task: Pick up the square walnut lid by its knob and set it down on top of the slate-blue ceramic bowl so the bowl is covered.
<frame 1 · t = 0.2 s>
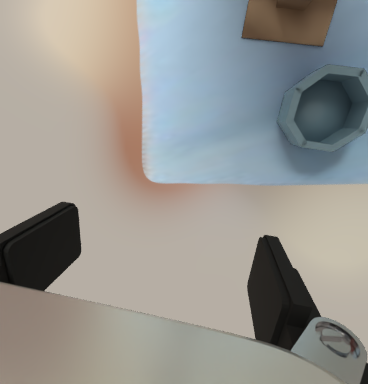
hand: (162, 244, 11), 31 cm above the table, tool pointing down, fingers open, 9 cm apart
bowl: (315, 111, 34), on the table
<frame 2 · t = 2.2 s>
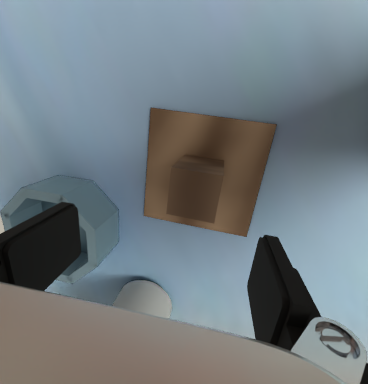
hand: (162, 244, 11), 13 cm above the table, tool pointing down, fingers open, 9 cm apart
lid: (202, 174, 23), on the table
bowl: (78, 218, 27), on the table
can: (148, 296, 30), on the table
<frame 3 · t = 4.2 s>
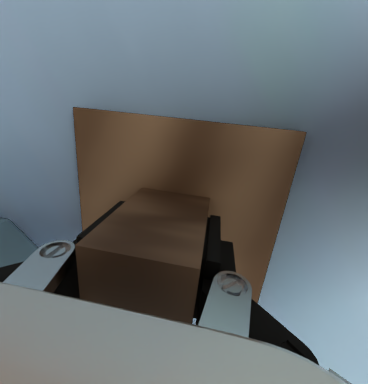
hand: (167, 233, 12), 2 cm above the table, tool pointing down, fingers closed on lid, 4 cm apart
lid: (175, 217, 13), on the table, touching gripper
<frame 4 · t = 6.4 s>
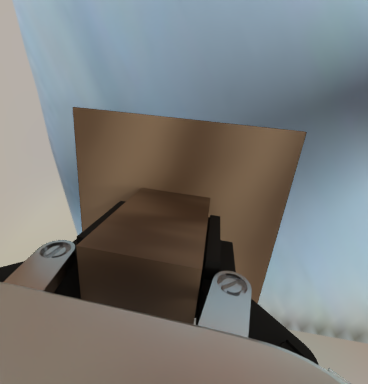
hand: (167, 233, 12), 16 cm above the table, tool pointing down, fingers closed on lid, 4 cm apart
lid: (175, 217, 13), point 14 cm above the table, touching gripper
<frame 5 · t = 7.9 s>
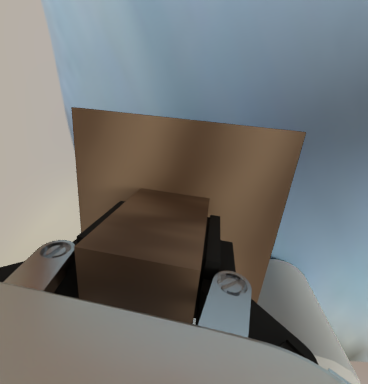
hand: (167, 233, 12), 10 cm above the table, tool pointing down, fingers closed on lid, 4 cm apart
lid: (174, 218, 13), point 9 cm above the table, touching gripper
can: (267, 280, 24), on the table
when the fingers open (9 cm above the table, at t = 8.9 s): lid drops 2 cm, resting on bowl.
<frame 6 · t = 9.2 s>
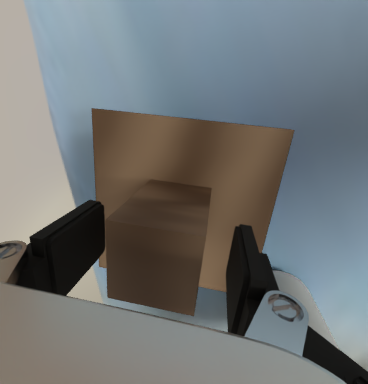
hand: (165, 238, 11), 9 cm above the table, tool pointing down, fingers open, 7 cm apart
lid: (180, 206, 15), point 5 cm above the table, touching bowl
can: (268, 292, 22), on the table
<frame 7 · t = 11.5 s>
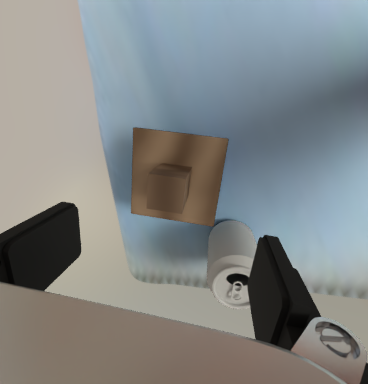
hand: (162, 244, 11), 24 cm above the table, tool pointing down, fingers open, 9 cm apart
lid: (176, 178, 29), point 5 cm above the table, touching bowl
can: (230, 237, 36), on the table
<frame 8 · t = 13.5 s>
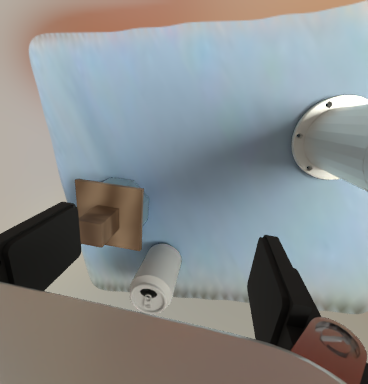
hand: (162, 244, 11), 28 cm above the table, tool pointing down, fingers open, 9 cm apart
lid: (110, 214, 38), point 5 cm above the table, touching bowl
bowl: (122, 204, 43), on the table
can: (165, 255, 46), on the table
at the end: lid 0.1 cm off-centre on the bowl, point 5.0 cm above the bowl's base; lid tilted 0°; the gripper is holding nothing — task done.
